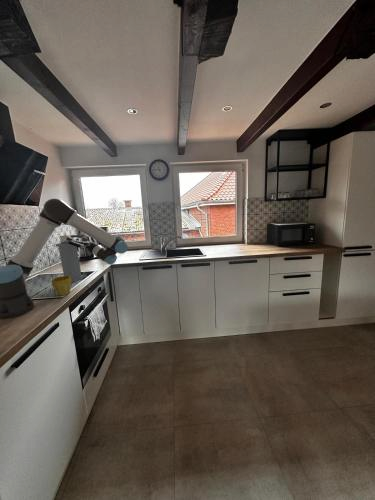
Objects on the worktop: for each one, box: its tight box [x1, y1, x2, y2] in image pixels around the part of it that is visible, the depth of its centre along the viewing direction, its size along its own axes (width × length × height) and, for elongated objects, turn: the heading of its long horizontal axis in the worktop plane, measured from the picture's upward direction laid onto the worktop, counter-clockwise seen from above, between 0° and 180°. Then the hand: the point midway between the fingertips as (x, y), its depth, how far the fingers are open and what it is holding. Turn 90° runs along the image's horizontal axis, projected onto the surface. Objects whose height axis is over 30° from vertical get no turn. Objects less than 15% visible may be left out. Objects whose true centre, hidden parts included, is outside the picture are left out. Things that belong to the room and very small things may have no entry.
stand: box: [55, 242, 85, 283], centre depth 147 cm, size 10×10×28 cm
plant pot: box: [50, 275, 73, 296], centre depth 123 cm, size 10×10×10 cm
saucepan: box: [59, 234, 84, 244], centre depth 143 cm, size 17×9×5 cm, turn 81°
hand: (73, 234), depth 141 cm, fingers open, 13 cm apart
